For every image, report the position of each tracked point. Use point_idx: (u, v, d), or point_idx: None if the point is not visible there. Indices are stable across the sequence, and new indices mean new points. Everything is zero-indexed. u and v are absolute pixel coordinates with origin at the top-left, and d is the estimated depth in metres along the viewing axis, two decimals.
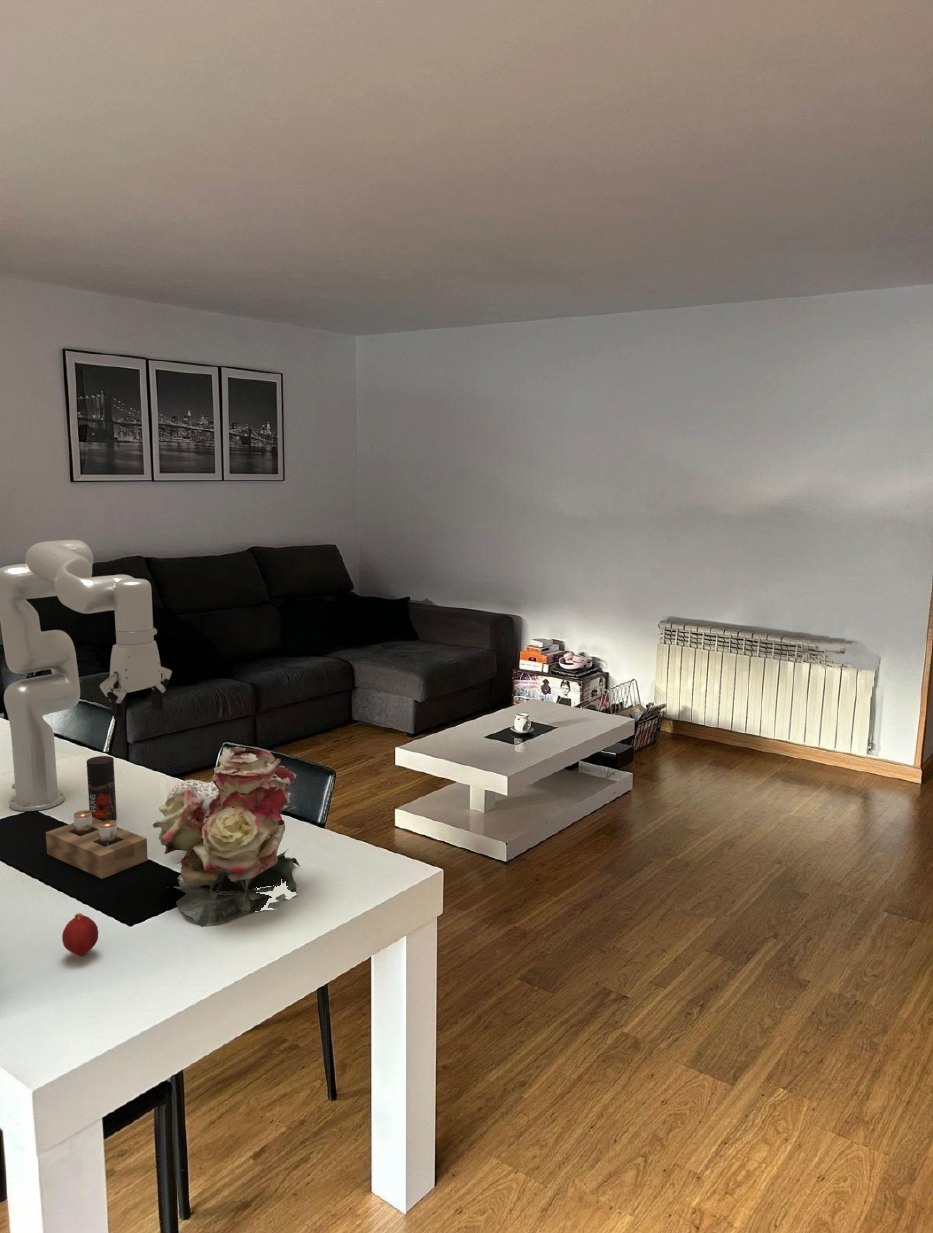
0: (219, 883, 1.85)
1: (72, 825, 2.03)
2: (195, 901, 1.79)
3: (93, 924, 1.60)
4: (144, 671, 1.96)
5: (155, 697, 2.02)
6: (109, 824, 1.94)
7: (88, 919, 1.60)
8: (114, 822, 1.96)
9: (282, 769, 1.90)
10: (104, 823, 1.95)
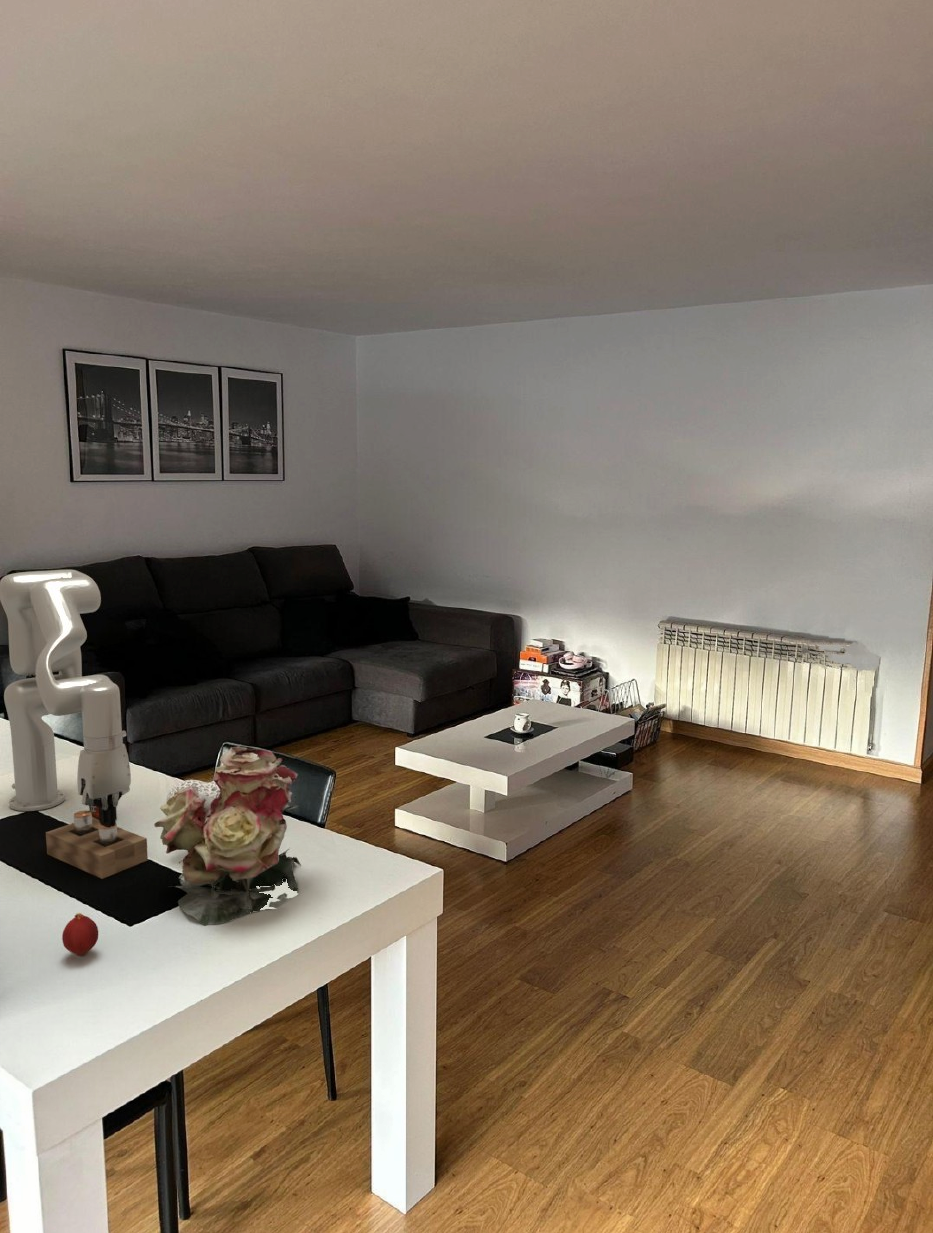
0: (220, 882, 1.85)
1: (72, 825, 2.03)
2: (197, 900, 1.80)
3: (93, 924, 1.60)
4: (112, 776, 1.92)
5: None
6: None
7: (88, 919, 1.60)
8: None
9: (284, 768, 1.90)
10: None
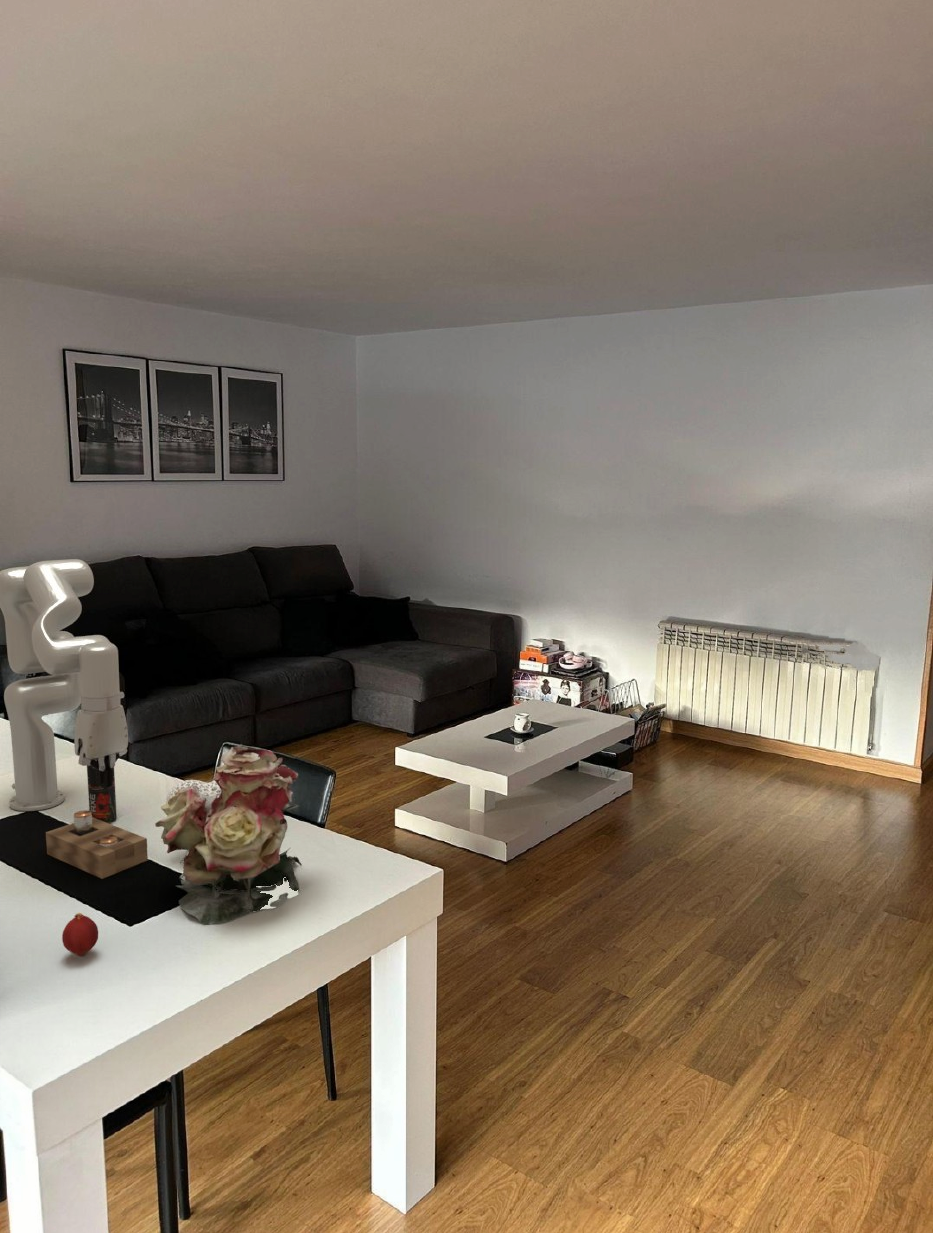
0: (221, 882, 1.85)
1: (72, 825, 2.03)
2: (197, 900, 1.80)
3: (93, 924, 1.60)
4: (110, 737, 1.91)
5: None
6: (110, 841, 1.95)
7: (88, 919, 1.60)
8: (115, 838, 1.96)
9: (284, 768, 1.90)
10: (105, 839, 1.96)
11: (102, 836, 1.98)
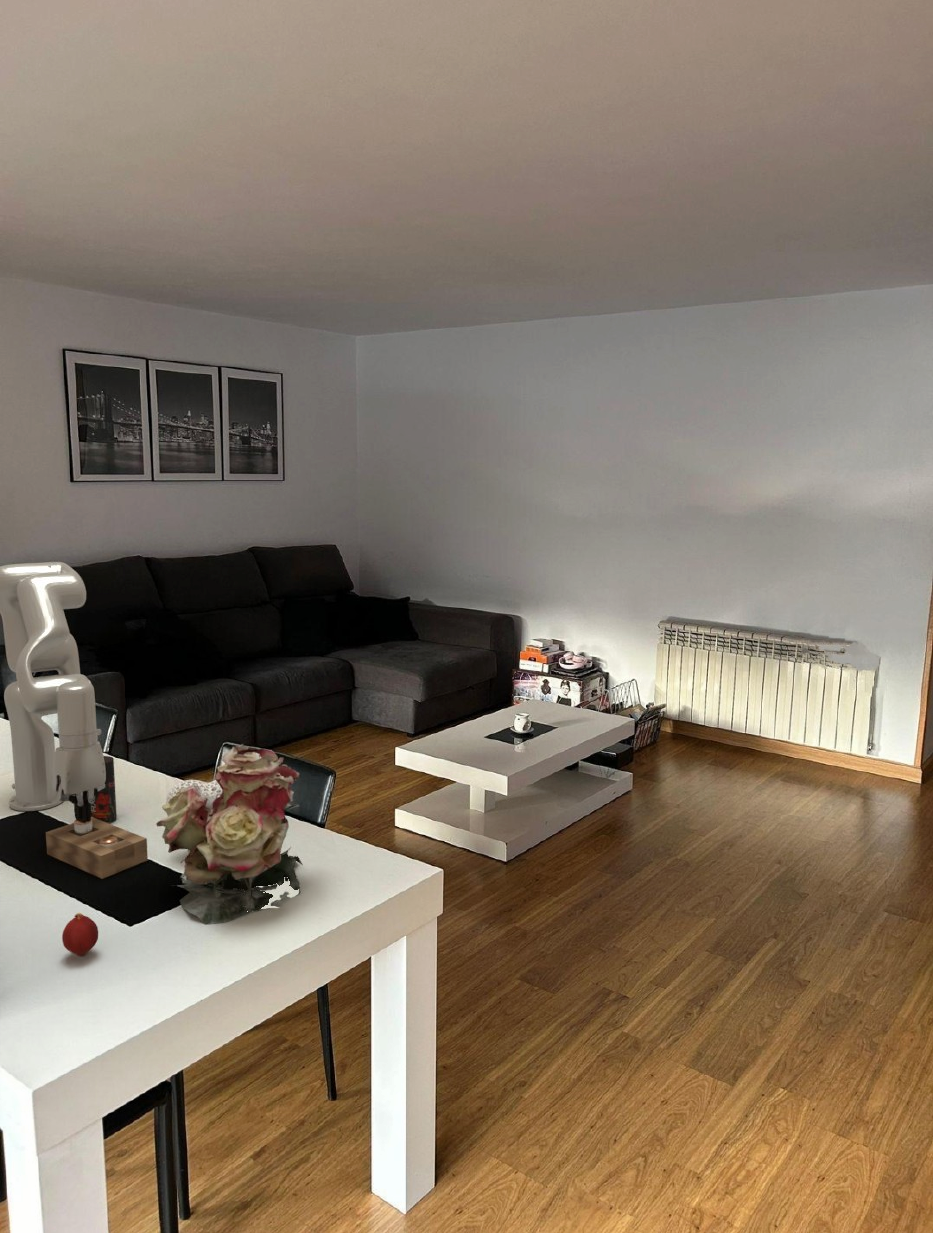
0: (222, 881, 1.85)
1: (72, 825, 2.03)
2: (199, 899, 1.80)
3: (93, 924, 1.60)
4: (87, 773, 1.97)
5: None
6: (110, 841, 1.95)
7: (88, 919, 1.60)
8: (115, 838, 1.96)
9: (285, 767, 1.90)
10: (105, 839, 1.96)
11: (102, 836, 1.98)
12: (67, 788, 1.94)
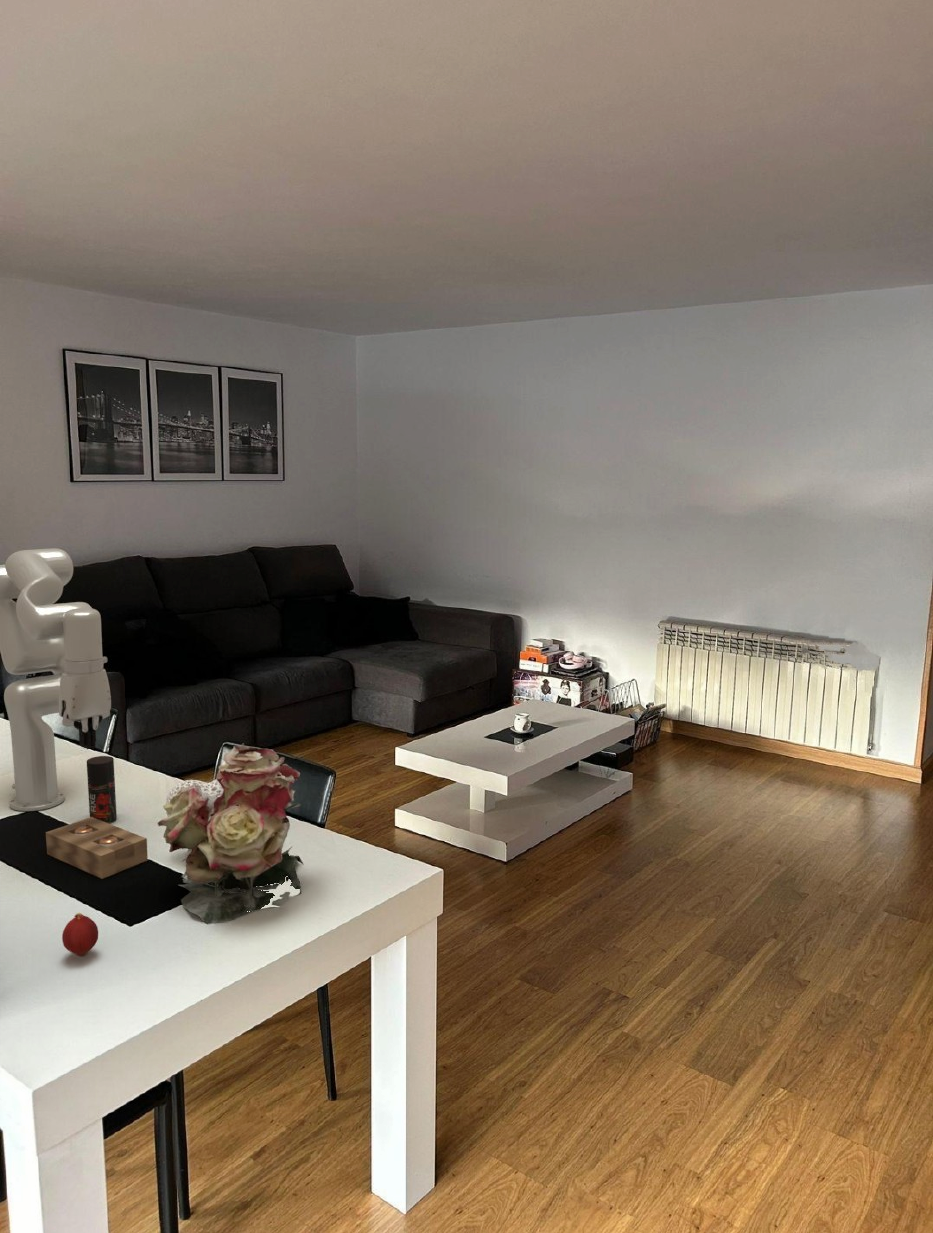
0: (223, 881, 1.86)
1: (72, 825, 2.03)
2: (200, 899, 1.80)
3: (93, 924, 1.60)
4: (92, 699, 1.98)
5: None
6: (110, 841, 1.95)
7: (88, 919, 1.60)
8: (115, 838, 1.96)
9: (286, 767, 1.91)
10: (105, 839, 1.96)
11: (102, 836, 1.98)
12: (72, 713, 1.95)
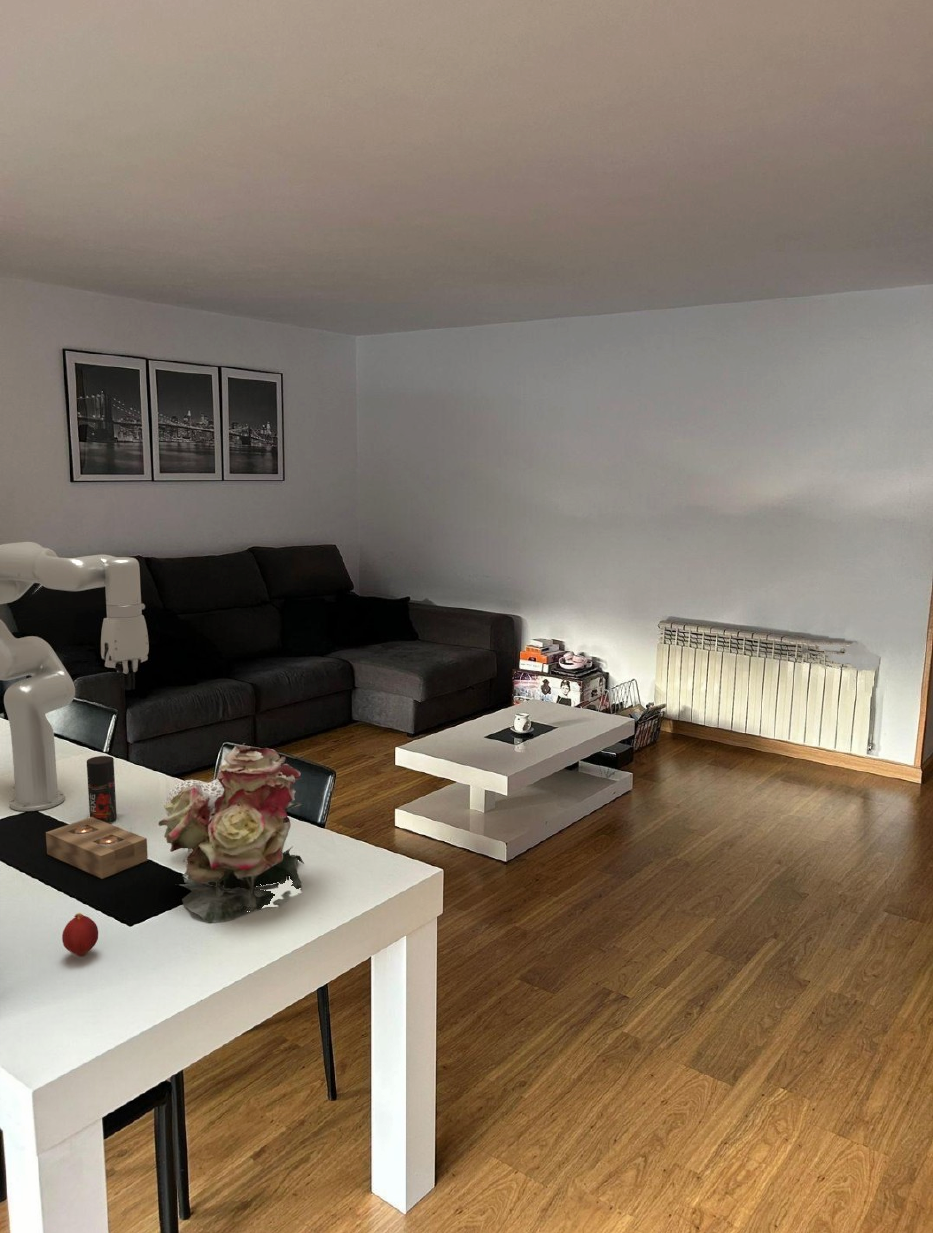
0: (224, 880, 1.86)
1: (72, 825, 2.03)
2: (201, 898, 1.80)
3: (93, 924, 1.60)
4: (132, 643, 2.12)
5: None
6: (110, 841, 1.95)
7: (88, 919, 1.60)
8: (115, 838, 1.96)
9: (287, 767, 1.91)
10: (105, 839, 1.96)
11: (102, 836, 1.98)
12: (114, 655, 2.09)
